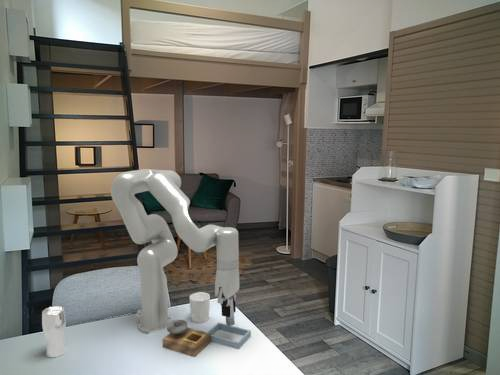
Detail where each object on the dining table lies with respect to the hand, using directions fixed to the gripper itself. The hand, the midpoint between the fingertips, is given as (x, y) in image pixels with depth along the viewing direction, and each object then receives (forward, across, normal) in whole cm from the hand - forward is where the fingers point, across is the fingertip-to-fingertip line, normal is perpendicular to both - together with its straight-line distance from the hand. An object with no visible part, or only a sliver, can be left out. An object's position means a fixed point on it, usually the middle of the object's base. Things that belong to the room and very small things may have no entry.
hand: (228, 313), depth 136 cm
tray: (+10, 0, 0) cm, 10 cm away
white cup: (+10, -8, -17) cm, 22 cm away
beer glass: (+10, +32, -48) cm, 59 cm away
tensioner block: (+10, +10, -11) cm, 18 cm away
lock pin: (+4, 0, +1) cm, 4 cm away
